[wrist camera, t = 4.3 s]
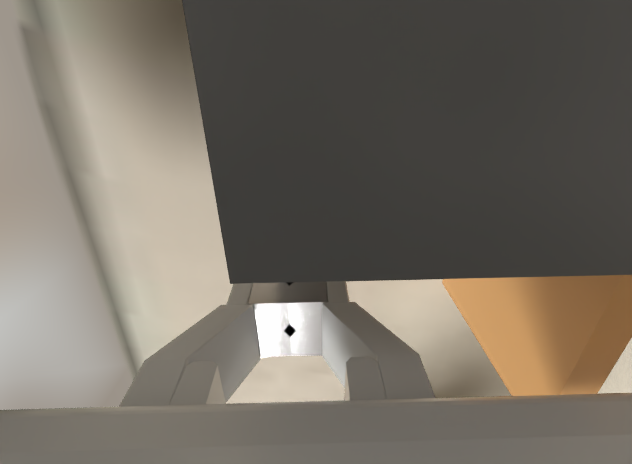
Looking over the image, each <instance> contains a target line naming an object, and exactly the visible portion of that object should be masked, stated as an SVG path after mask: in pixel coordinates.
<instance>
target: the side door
mask: <svg viewBox="0 0 632 464" xmlns="http://www.w3.org/2000/svg"><path fill="white" fill-rule="evenodd" d="M442 283H443V285H444V286H445V288H446V290H447V291H448V293H449V295H450V296H451V298H452V299H453V301H454V303H455V304H456V306H457V308H458V309H459V311H460V312H461V314H462V316H463V317H464V319H465V321H466V322H467V324H468V325H469V327H470V329H471V330H472V332H473V334H474V335H475V337H476V338H477V340H478V342H479V343H480V345H481V347H482V348H483V350H484V351H485V353H486V355H487V356H488V358H489V360H490V361H491V363H492V364H493V366H494V368H495V369H496V371H497V373H498V374H499V376H500V377H501V379H502V381H503V382H504V384H505V385H506V387H507V389H508V390H509V392H510V394H511V395H512V396H531V395H568V394H597V393H598V391H599V390H600V388H601V387H602V385H603V383H604V382H605V380H606V378H607V377H608V375H609V373H610V372H611V370H612V369H613V367H614V365H615V364H616V362H617V360H618V359H619V357H620V355H621V354H622V352H623V351H624V349H625V347H626V346H627V344H628V342H629V341H630V339H631V338H632V275H600V276H555V277H510V278H465V279H443V282H442Z"/></svg>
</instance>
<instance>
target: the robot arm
mask: <svg viewBox="0 0 632 464" xmlns="http://www.w3.org/2000/svg"><path fill="white" fill-rule="evenodd" d="M276 356H323V358H324V360H325V361H326V363H327V364H328V365H329V367H330V368H331V370H332V371H333V372H334V374H335V375H336V377H337V378H338V379H339V381H340V382H341V384H342V385H343V386H344V388H345V393H344V401H309V402H273V403H237V404H226V402H227V401H228V399H229V398H230V397H231V396H232V394H233V393H234V392H235V391H236V389H237V388H238V387H239V386H240V384H241V383H242V382H243V381H244V379H245V378H246V377H247V376H248V374H249V373H250V372H251V370H252V369H253V368H254V367H255V365H256V364H257V363H258V362H259V360H260V357H276ZM0 464H632V393H604V394H568V395H531V396H496V397H462V398H435V395H434V393H433V390H432V387H431V385H430V382H429V380H428V377H427V374H426V372H425V369H424V367H423V364H422V361H421V359H420V356H419V354H418V353H417V352H415V351H414V350H413V349H412V348H410V347H409V346H408V345H407V344H406V343H404V342H403V341H402V340H401V339H399V338H398V337H397V336H396V335H395V334H393V333H392V332H391V331H390V330H388V329H387V328H386V327H385V326H383V325H382V324H381V323H380V322H379V321H377V320H376V319H375V318H374V317H372V316H371V315H370V314H369V313H368V312H366V311H365V310H364V309H363V308H361V307H360V306H359V305H358V304H357V303H355V302H349V296H348V291H347V285H346V281H329V282H284V283H239V284H233V287H232V290H231V293H230V296H229V298H228V301H227V304H226V305H220V306H219V307H218V308H216V309H215V310H214V311H212V312H211V313H210V314H208V315H207V316H205V317H204V318H203V319H201V320H200V321H199V322H197V323H196V324H194V325H193V326H192V327H190V328H189V329H188V330H186V331H185V332H183V333H182V334H181V335H179V336H178V337H177V338H175V339H174V340H172V341H171V342H170V343H168V344H167V345H166V346H164V347H163V348H161V349H160V350H159V351H157V352H156V353H155V354H153V355H152V356H150V357H149V358H148V359H146V360H145V361H144V363H143V365H142V366H141V368H140V370H139V372H138V373H137V375H136V377H135V379H134V381H133V382H132V384H131V386H130V388H129V390H128V391H127V393H126V395H125V397H124V399H123V400H122V402H121V404H120V405H119V407H92V408H55V409H20V410H19V409H18V410H0Z"/></svg>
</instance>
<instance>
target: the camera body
mask: <svg viewBox="0 0 632 464" xmlns="http://www.w3.org/2000/svg"><path fill="white" fill-rule="evenodd" d="M182 3H183V8H184V14H185V20H186V26H187V32H188V38H189V44H190V50H191V56H192V61H193V67H194V73H195V79H196V85H197V91H198V97H199V103H200V109H201V114H202V120H203V126H204V132H205V138H206V144H207V150H208V156H209V162H210V167H211V173H212V179H213V185H214V191H215V197H216V203H217V209H218V215H219V220H220V226H221V232H222V238H223V244H224V250H225V256H226V262H227V268H228V273H229V279H230V284H239V283H284V282H329V281H375V280H420V279H465V278H510V277H555V276H600V275H632V0H182Z"/></svg>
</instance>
